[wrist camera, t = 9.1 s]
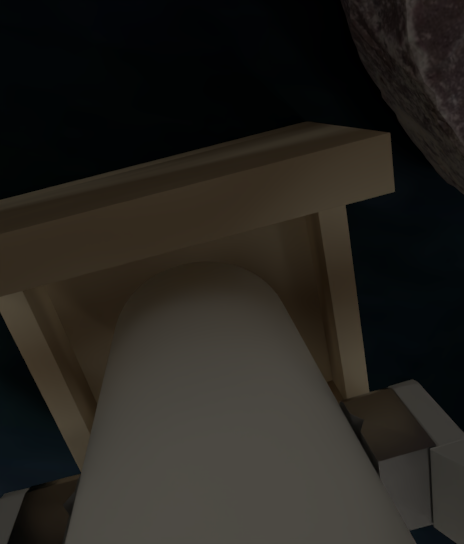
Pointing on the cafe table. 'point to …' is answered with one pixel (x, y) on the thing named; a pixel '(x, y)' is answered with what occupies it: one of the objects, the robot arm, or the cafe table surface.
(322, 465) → the roll
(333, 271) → the holder
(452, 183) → the rock
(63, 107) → the cafe table surface
